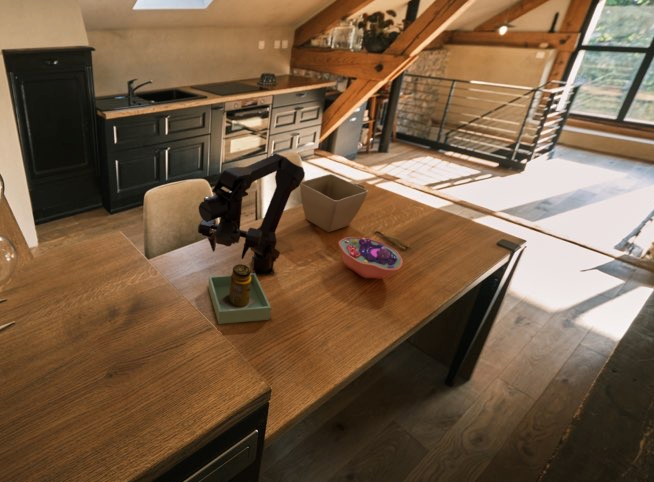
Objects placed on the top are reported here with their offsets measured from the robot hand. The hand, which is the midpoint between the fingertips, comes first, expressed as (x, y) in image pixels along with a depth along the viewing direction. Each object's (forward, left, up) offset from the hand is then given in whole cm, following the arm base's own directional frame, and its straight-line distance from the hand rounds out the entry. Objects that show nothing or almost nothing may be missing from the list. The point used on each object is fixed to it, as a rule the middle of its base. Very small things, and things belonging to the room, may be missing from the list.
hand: (228, 254), depth 119 cm
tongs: (-70, -19, -13) cm, 74 cm away
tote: (-2, +7, -13) cm, 15 cm away
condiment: (-2, +7, -13) cm, 15 cm away
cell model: (-50, -3, -13) cm, 52 cm away
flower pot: (-52, -35, -13) cm, 64 cm away
